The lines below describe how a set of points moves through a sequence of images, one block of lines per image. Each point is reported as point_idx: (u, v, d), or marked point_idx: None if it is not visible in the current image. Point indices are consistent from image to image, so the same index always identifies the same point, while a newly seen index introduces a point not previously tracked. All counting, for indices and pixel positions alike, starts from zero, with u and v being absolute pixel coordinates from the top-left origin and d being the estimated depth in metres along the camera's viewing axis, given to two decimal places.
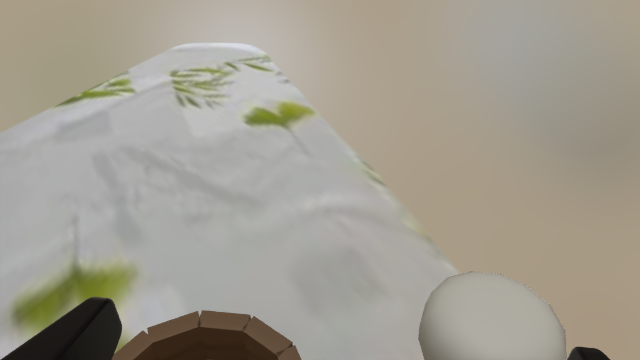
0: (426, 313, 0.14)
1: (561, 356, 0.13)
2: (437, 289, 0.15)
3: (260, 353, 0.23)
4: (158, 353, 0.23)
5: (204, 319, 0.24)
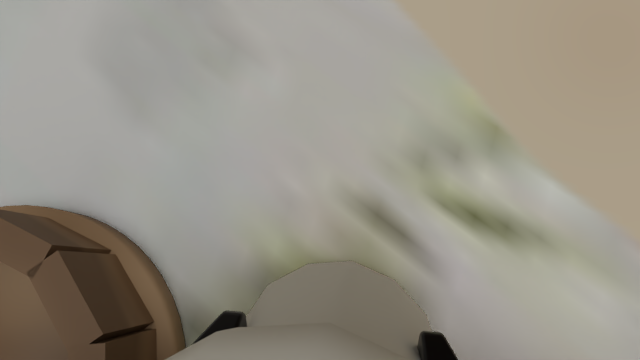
0: None
1: None
2: None
3: None
4: None
5: None
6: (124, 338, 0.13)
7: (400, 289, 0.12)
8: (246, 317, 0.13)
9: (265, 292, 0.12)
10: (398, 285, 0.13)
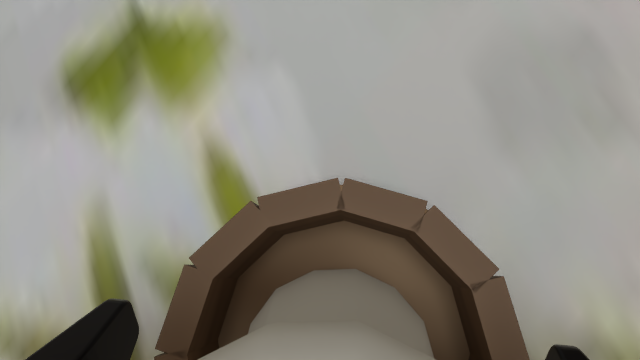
0: None
1: None
2: None
3: (435, 259, 0.14)
4: (276, 229, 0.15)
5: (349, 196, 0.14)
6: None
7: (400, 297, 0.13)
8: (255, 319, 0.14)
9: (275, 296, 0.13)
10: (398, 293, 0.14)
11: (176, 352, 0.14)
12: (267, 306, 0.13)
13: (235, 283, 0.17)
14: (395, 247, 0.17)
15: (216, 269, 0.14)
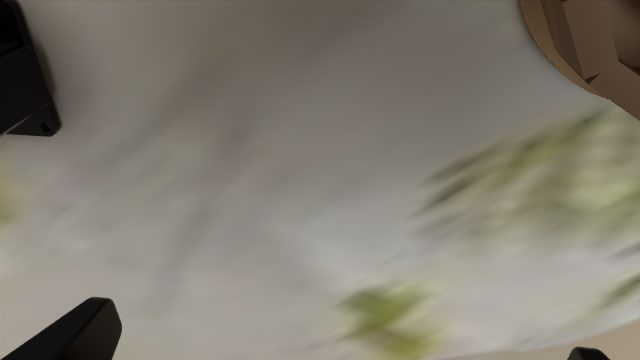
0: None
1: None
2: None
3: None
4: None
5: None
6: None
7: None
8: None
9: None
10: None
11: None
12: None
13: None
14: None
15: None
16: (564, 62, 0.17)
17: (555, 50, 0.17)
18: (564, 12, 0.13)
